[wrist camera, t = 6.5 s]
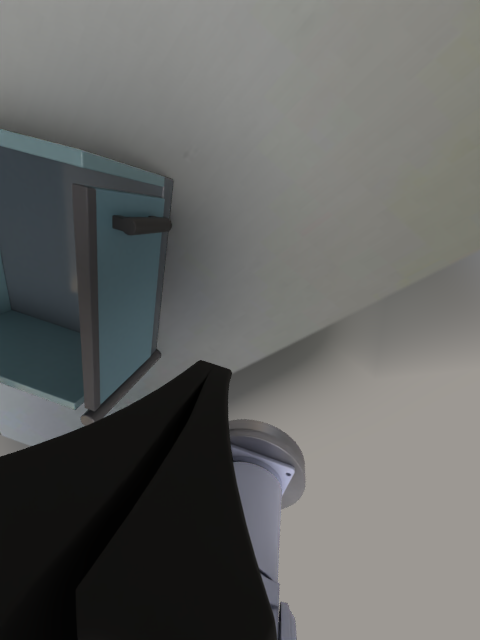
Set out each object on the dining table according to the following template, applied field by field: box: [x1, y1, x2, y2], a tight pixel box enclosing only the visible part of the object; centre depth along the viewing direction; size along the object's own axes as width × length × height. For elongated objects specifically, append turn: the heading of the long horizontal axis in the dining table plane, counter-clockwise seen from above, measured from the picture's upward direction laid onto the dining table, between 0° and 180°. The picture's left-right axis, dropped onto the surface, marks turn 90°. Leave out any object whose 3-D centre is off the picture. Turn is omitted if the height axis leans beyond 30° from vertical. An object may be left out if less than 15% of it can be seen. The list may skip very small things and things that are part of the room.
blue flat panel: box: [72, 183, 172, 411], centre depth 15 cm, size 12×2×6 cm, turn 166°
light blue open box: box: [0, 129, 173, 426], centre depth 16 cm, size 14×14×8 cm
